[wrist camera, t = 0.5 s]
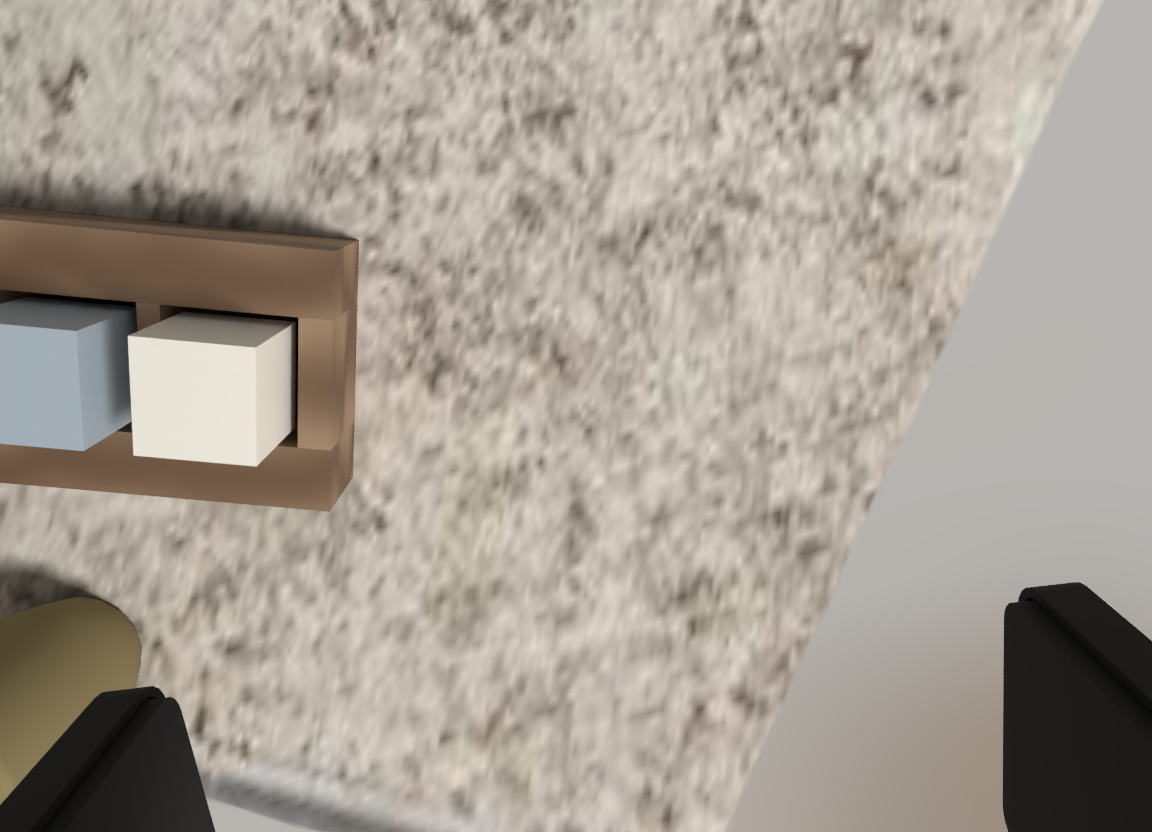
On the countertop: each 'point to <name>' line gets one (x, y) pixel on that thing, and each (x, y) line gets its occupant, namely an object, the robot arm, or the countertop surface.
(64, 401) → the key slate
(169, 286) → the wooden compartment tray
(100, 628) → the squeeze bottle
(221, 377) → the key cream
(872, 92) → the countertop surface
